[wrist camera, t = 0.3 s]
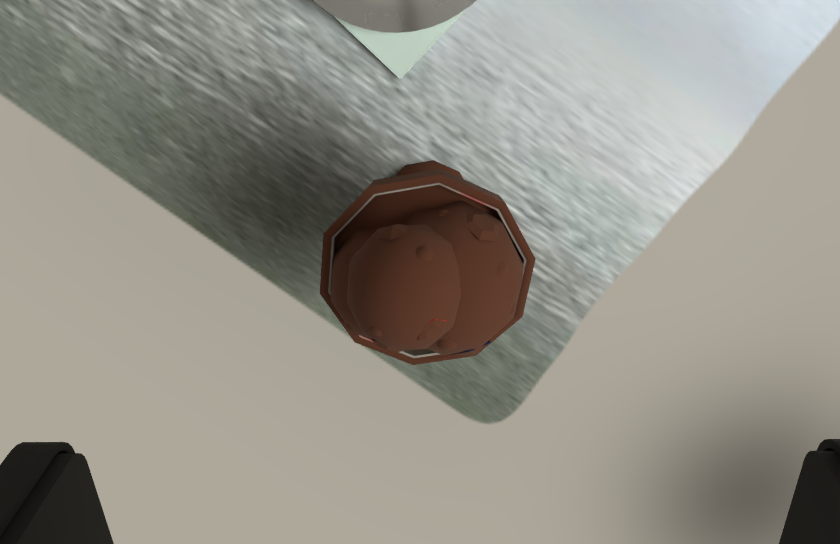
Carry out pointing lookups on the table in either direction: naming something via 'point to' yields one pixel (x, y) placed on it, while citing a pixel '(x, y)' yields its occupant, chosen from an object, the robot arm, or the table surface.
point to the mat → (399, 44)
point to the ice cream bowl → (426, 266)
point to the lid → (394, 13)
